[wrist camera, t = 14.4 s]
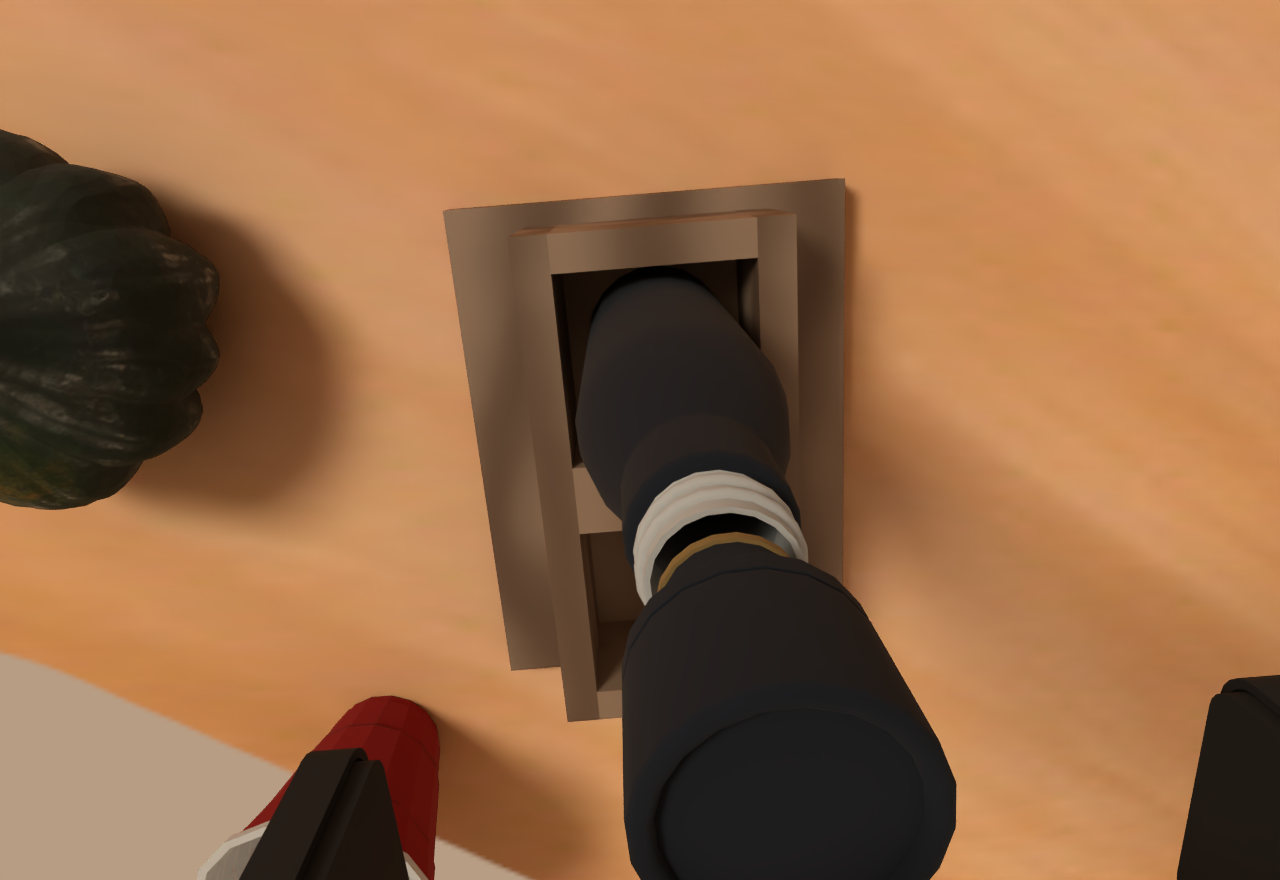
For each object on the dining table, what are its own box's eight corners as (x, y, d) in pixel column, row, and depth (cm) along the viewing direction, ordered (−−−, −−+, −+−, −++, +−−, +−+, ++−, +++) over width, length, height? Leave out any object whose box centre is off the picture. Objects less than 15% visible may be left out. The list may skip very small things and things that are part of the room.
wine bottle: (730, 267, 37) (1135, 587, 8) (720, 401, 39) (1016, 1033, 10) (590, 262, 36) (507, 572, 8) (587, 397, 38) (513, 1034, 10)
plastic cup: (263, 769, 47) (149, 961, 35) (338, 628, 44) (242, 786, 32) (432, 839, 49) (376, 1043, 37) (514, 708, 46) (482, 885, 34)
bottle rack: (835, 178, 37) (888, 179, 30) (834, 627, 45) (877, 713, 37) (450, 209, 37) (410, 217, 30) (514, 653, 45) (495, 745, 37)
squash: (-210, 454, 34) (-222, 614, 24) (-252, 82, 30) (-285, 91, 20) (164, 435, 44) (264, 543, 34) (170, 153, 40) (285, 183, 30)
